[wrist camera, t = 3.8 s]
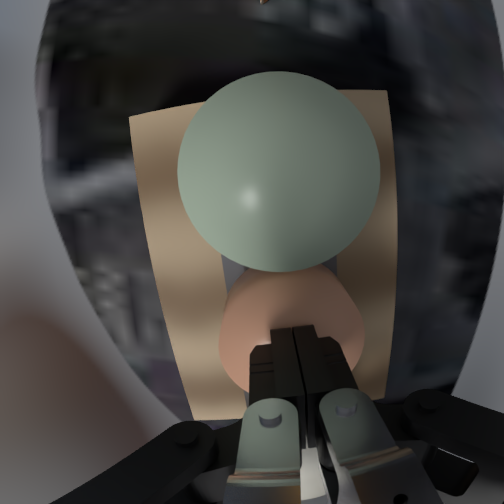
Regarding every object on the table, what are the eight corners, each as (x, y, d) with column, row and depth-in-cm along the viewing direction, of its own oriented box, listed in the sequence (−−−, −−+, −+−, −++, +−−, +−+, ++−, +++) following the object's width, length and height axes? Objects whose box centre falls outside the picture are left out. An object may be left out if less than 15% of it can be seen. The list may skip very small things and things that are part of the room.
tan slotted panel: (147, 122, 17) (111, 112, 12) (367, 99, 17) (405, 82, 12) (200, 392, 22) (189, 443, 17) (371, 372, 22) (394, 418, 17)
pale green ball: (197, 111, 12) (166, 87, 7) (328, 98, 12) (368, 69, 7) (214, 238, 13) (194, 281, 9) (340, 224, 13) (383, 259, 8)
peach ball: (220, 247, 15) (206, 288, 10) (333, 235, 15) (366, 269, 10) (235, 344, 16) (230, 407, 12) (335, 332, 16) (360, 390, 12)
